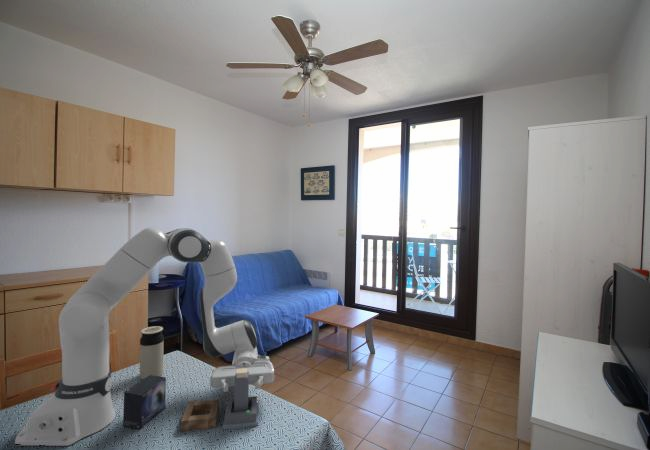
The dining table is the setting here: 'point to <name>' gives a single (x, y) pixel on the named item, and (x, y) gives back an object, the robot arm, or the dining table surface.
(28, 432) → the robot arm
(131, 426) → the small box
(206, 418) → the frame
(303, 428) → the dining table surface
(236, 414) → the dock
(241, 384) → the plug
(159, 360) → the travel mug
